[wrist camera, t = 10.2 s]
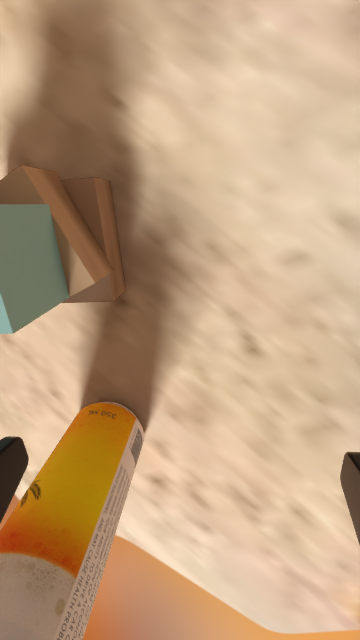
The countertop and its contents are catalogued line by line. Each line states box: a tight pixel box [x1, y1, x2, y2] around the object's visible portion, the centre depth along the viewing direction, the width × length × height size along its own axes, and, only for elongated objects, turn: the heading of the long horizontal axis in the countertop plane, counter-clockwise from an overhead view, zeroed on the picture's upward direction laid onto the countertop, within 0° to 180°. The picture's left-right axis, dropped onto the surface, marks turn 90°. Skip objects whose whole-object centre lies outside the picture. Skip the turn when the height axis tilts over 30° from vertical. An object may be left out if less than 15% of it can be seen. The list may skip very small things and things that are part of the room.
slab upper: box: [0, 165, 115, 297], centre depth 16 cm, size 6×6×3 cm
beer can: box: [0, 402, 144, 640], centre depth 18 cm, size 6×6×15 cm
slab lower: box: [61, 177, 126, 303], centre depth 18 cm, size 7×7×3 cm
